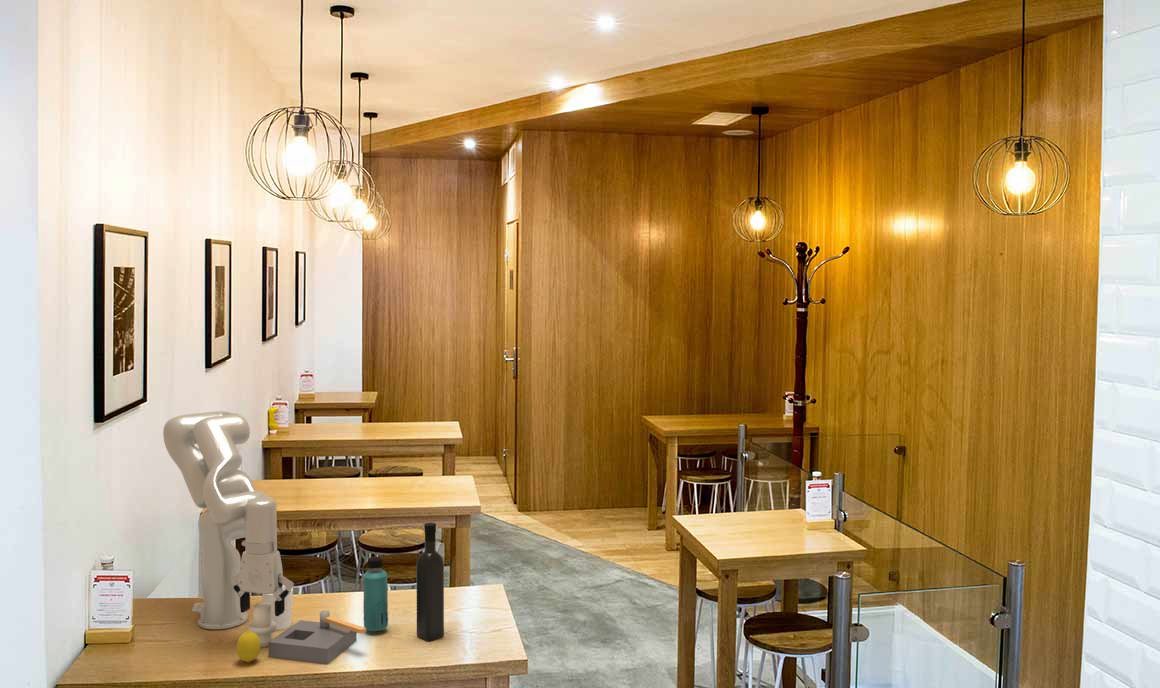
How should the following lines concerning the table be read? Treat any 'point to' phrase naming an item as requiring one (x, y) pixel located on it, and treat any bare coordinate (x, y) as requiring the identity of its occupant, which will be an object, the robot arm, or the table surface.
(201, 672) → the table surface
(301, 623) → the dock
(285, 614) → the white cup
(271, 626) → the plug
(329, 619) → the hammer
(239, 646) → the lemon
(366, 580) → the beverage bottle
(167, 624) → the table surface
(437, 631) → the wine bottle
